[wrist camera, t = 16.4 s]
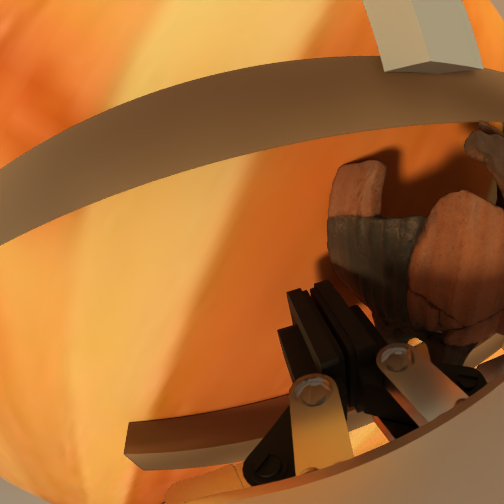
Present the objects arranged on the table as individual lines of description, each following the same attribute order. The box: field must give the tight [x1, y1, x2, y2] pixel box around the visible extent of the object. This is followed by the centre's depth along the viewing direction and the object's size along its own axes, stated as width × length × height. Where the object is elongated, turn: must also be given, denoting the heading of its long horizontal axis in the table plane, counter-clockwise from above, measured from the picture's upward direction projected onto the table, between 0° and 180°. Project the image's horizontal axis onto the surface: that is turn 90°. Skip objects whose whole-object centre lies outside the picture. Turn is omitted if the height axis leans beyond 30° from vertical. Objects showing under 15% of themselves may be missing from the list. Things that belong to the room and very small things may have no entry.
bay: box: [0, 56, 504, 470], centre depth 11 cm, size 18×28×4 cm, turn 104°
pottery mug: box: [327, 121, 504, 366], centre depth 10 cm, size 12×10×8 cm
